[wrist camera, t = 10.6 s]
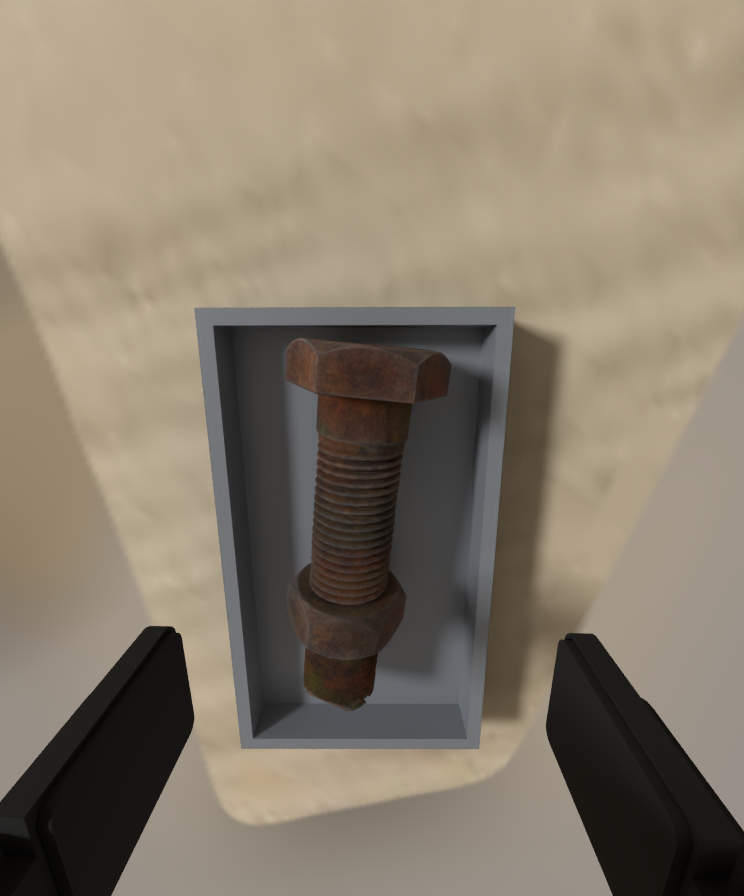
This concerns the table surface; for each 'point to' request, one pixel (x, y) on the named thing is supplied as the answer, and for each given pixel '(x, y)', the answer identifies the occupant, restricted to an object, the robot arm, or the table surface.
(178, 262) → the table surface
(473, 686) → the parts tray
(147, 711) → the robot arm
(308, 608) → the bolt
